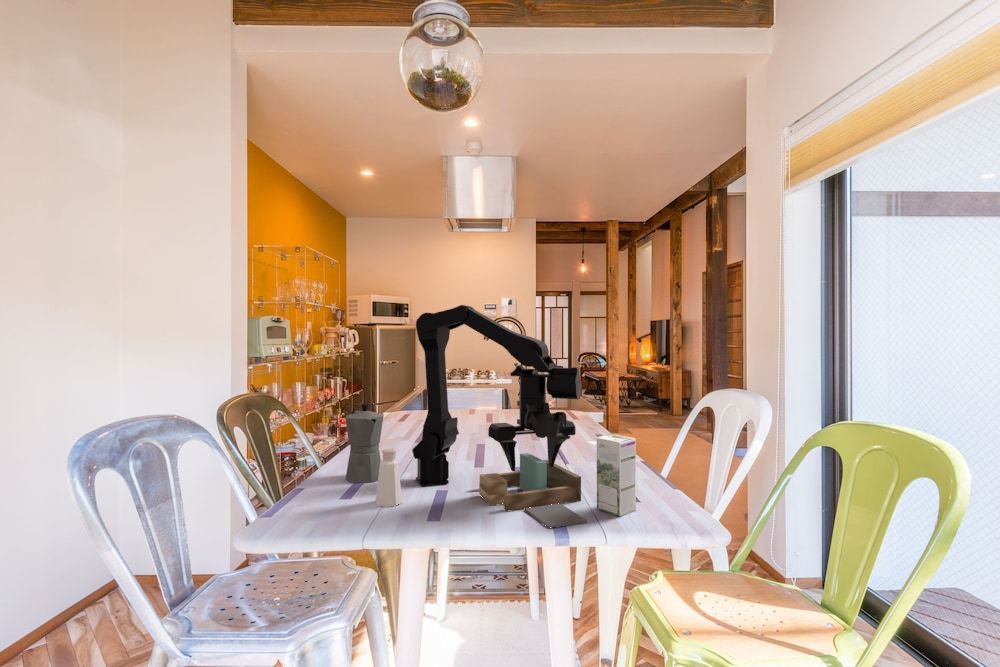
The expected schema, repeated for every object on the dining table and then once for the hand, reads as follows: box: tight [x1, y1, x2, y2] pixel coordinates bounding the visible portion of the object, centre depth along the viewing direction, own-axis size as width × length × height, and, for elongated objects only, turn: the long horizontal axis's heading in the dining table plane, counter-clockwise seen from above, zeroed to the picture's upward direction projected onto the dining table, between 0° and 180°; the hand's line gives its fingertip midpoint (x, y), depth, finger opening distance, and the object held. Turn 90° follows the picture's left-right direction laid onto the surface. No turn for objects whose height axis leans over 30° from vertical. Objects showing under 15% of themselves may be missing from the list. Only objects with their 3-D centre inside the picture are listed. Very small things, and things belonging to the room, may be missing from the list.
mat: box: [524, 503, 588, 529], centre depth 95 cm, size 8×10×1 cm
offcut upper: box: [479, 472, 508, 495], centre depth 105 cm, size 4×6×2 cm, turn 19°
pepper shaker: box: [375, 447, 403, 508], centre depth 102 cm, size 5×5×11 cm
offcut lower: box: [478, 485, 510, 506], centre depth 105 cm, size 4×7×2 cm, turn 22°
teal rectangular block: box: [519, 452, 548, 492], centre depth 108 cm, size 2×9×8 cm, turn 23°
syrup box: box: [596, 433, 637, 517], centre depth 99 cm, size 6×6×14 cm
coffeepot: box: [345, 402, 384, 484], centre depth 121 cm, size 15×9×18 cm, turn 35°
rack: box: [498, 459, 582, 512], centre depth 108 cm, size 17×15×5 cm
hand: (532, 468), depth 109 cm, fingers open, 9 cm apart
